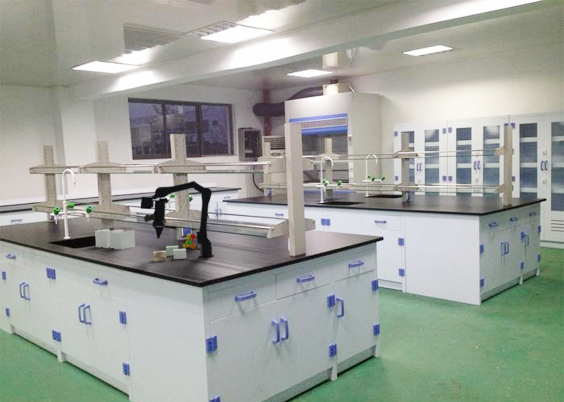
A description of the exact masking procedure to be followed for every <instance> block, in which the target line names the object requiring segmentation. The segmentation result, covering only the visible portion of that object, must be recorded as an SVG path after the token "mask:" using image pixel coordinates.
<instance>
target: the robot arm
mask: <svg viewBox="0 0 564 402" xmlns="http://www.w3.org/2000/svg"><path fill="white" fill-rule="evenodd" d="M191 189H193V190H195V191H197V192H198V193H200V196H201V212H200V223H199V229H196V234H195V237H196V239H195V240H197V241H196V242H198V243H199V244H200V248H199V249H200V251H199V253H200V254H199V255H198V257H199V258H205V259H206V258H212V257H215V255H214V254H213V246H212V241H211V240H210V239H209V238H208V231H207V225H208V214H209V205H210V200H211V198H212V194H213V193H212V189H210V187H207V186H206V187H205V186H203V185H201V184H199V183H198V182H196V181H195V180H191V181H189V182H185V183H181V184H175V185H171V186H158V187H157V188H155V191H154V194H153V195H152V196H151V197H150V196H141V202H140V209H141V210H152V208H154V211H153V213H151V214H149V213H147V214H145V216H143V221H144V222H145V223H148V222H151V221H152V224H151V226H152V228H153V229H154V230H155V234H156V239H158V240H159V239H160V238H161V236H162V233H163V231H164V228H165V227H166V223H167V219H166V203H169V199H168V198H167V196H168V195H171V194H173V193H177V192H182V191H186V190H191ZM164 197H165V198H164ZM199 244H198V245H199Z"/></svg>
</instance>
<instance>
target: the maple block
mask: <svg viewBox="0 0 564 402" xmlns="http://www.w3.org/2000/svg"><path fill="white" fill-rule="evenodd" d="M152 254H153V256H152V259H153V262H165V261H167V259H168V258H167V254H166V250H158V251H153V252H152Z"/></svg>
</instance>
